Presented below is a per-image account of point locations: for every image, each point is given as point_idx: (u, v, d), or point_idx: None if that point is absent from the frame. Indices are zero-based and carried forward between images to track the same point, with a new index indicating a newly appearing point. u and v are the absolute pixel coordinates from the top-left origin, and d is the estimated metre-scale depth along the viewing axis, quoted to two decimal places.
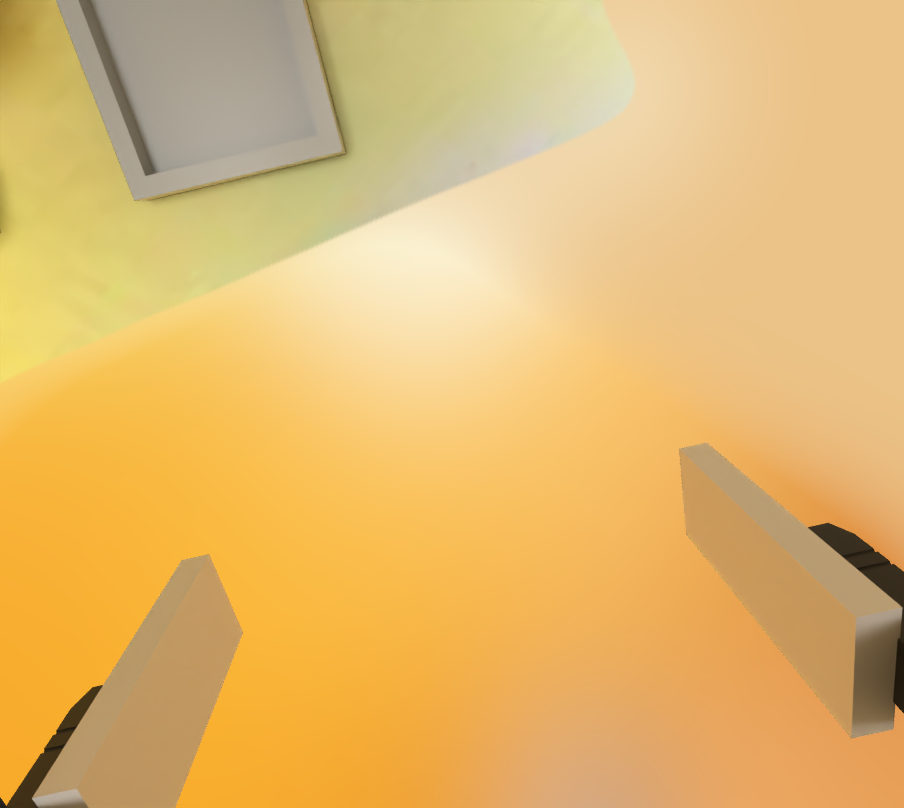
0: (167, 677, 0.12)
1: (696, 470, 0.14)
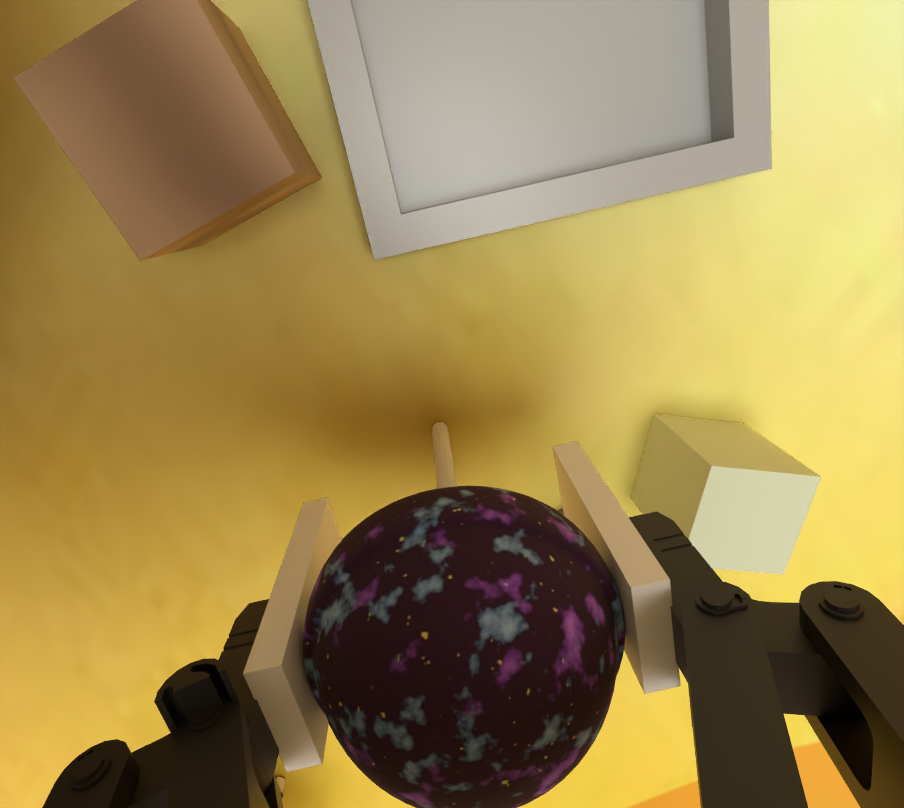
0: None
1: (561, 466, 0.16)
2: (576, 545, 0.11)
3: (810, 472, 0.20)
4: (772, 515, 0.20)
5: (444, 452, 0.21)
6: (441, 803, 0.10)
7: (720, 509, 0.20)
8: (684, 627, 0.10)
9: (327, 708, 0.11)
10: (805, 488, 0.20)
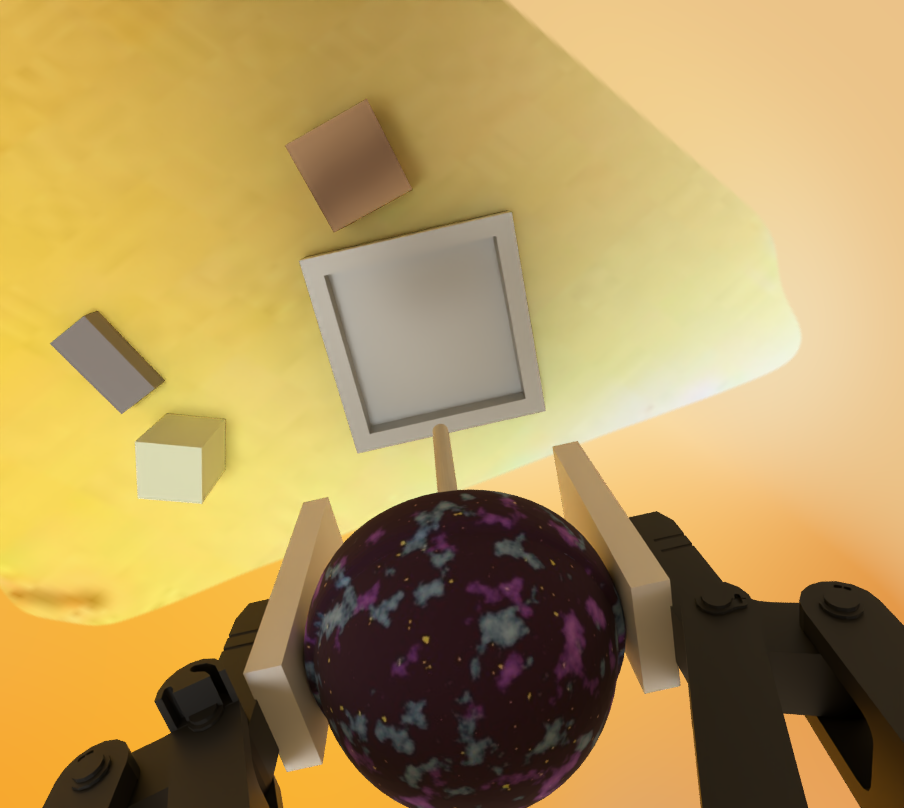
0: None
1: (561, 466, 0.16)
2: (577, 549, 0.11)
3: (203, 498, 0.38)
4: (175, 484, 0.37)
5: (445, 454, 0.21)
6: (442, 807, 0.10)
7: (175, 456, 0.36)
8: (684, 627, 0.10)
9: (328, 712, 0.11)
10: (194, 497, 0.37)
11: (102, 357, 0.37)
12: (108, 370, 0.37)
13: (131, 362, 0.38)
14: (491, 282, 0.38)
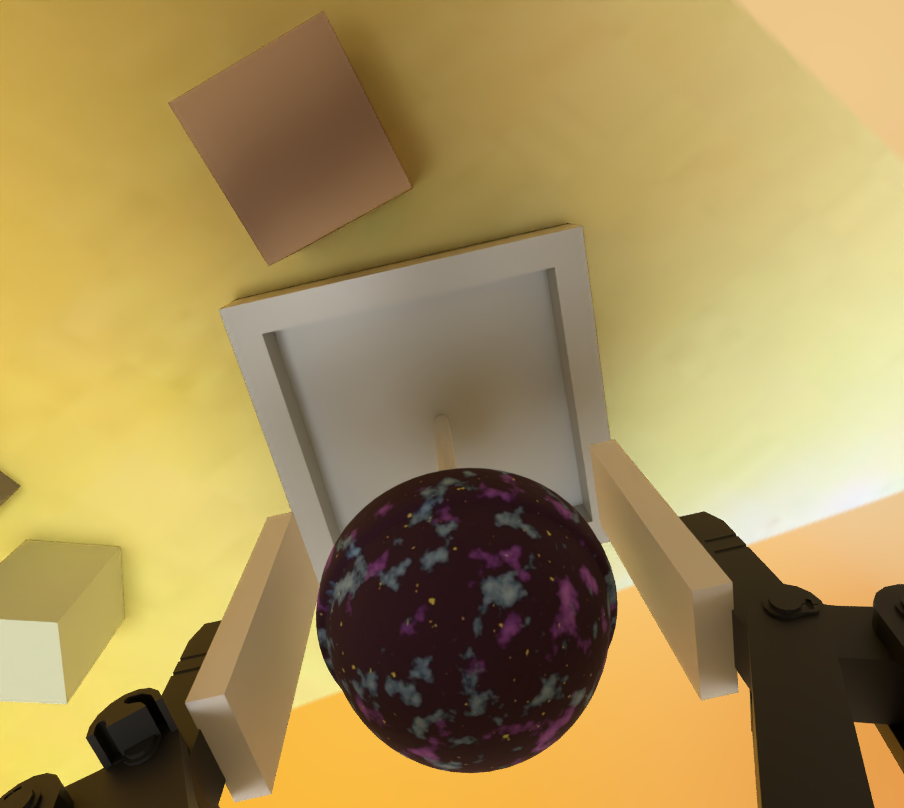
0: (273, 614, 0.14)
1: (600, 465, 0.16)
2: (571, 522, 0.12)
3: (69, 694, 0.23)
4: (18, 677, 0.22)
5: (445, 443, 0.22)
6: (447, 757, 0.11)
7: (14, 636, 0.22)
8: (749, 629, 0.10)
9: (340, 673, 0.12)
10: (52, 696, 0.23)
11: None
12: None
13: None
14: (541, 338, 0.23)
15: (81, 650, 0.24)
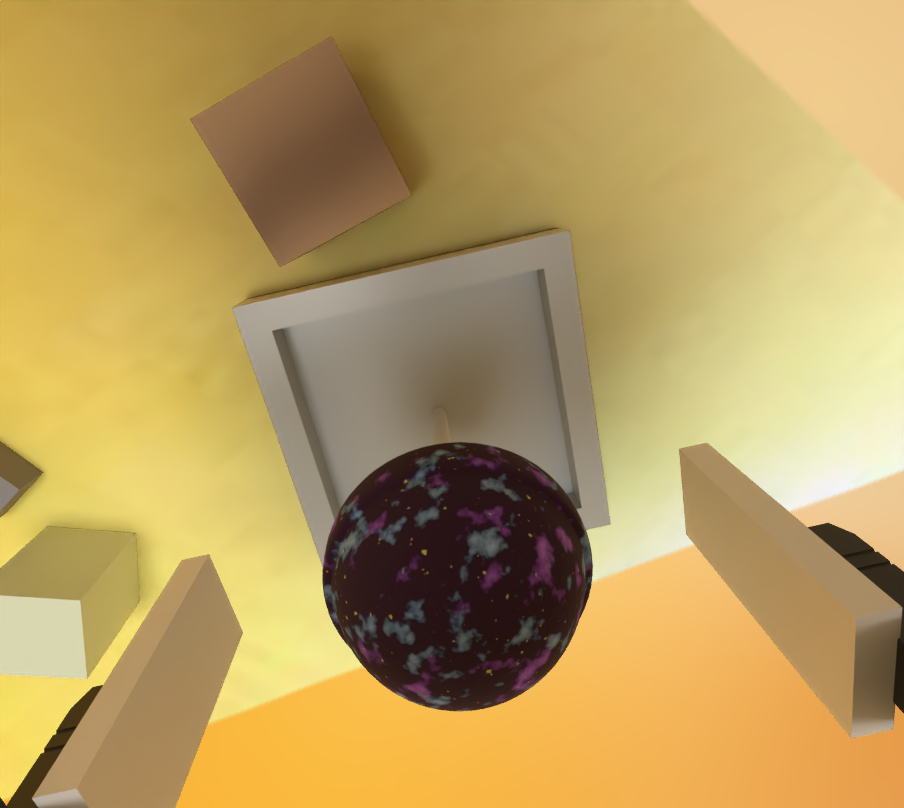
0: (167, 677, 0.12)
1: (696, 471, 0.14)
2: (549, 488, 0.14)
3: (90, 670, 0.25)
4: (42, 653, 0.24)
5: (442, 432, 0.23)
6: (437, 691, 0.12)
7: (39, 614, 0.23)
8: None
9: (344, 621, 0.13)
10: (74, 670, 0.24)
11: None
12: None
13: None
14: (532, 335, 0.25)
15: (100, 629, 0.25)
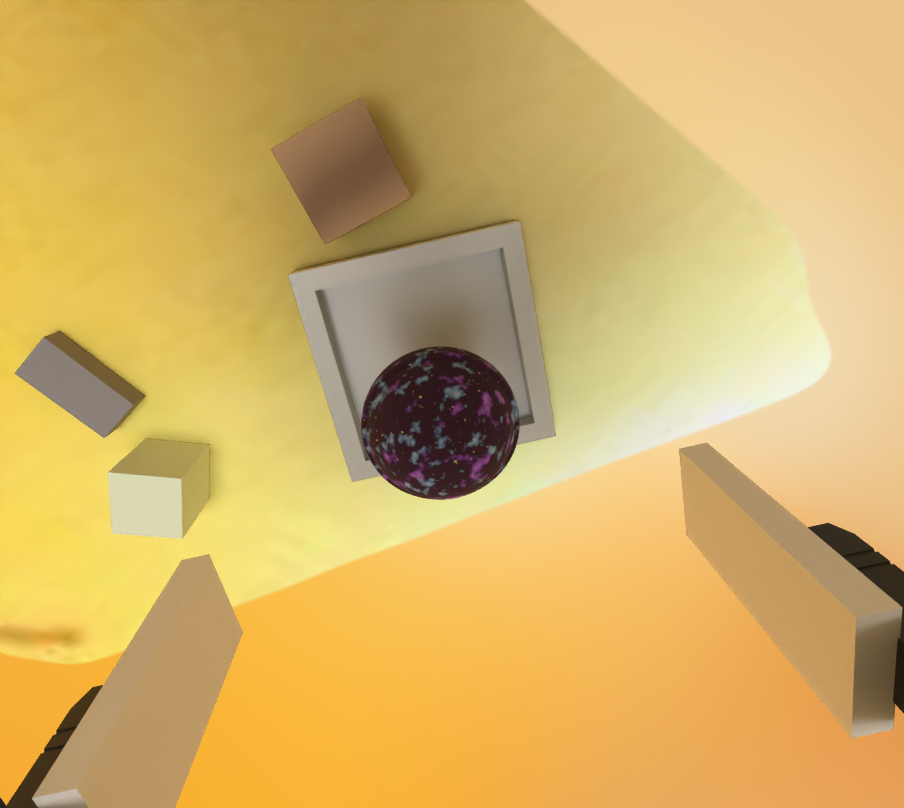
0: (167, 677, 0.12)
1: (696, 470, 0.14)
2: (492, 370, 0.24)
3: (184, 533, 0.35)
4: (152, 518, 0.34)
5: None
6: (427, 475, 0.22)
7: (152, 488, 0.33)
8: None
9: (375, 443, 0.23)
10: (173, 532, 0.34)
11: (72, 379, 0.34)
12: (81, 392, 0.34)
13: (103, 380, 0.34)
14: (498, 297, 0.35)
15: (189, 506, 0.35)
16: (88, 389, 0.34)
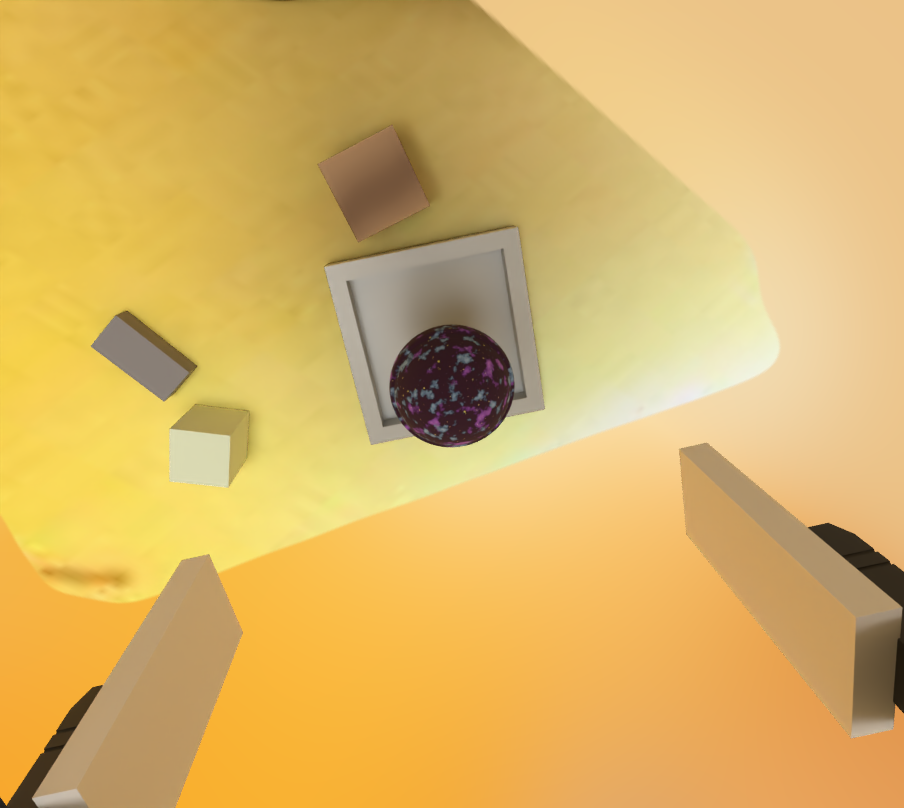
0: (167, 677, 0.12)
1: (696, 470, 0.14)
2: (494, 344, 0.30)
3: (229, 483, 0.41)
4: (204, 469, 0.40)
5: None
6: (442, 422, 0.29)
7: (206, 443, 0.40)
8: None
9: (401, 398, 0.30)
10: (221, 481, 0.41)
11: (138, 351, 0.41)
12: (145, 362, 0.41)
13: (164, 351, 0.41)
14: (498, 290, 0.42)
15: (234, 460, 0.42)
16: (152, 359, 0.41)
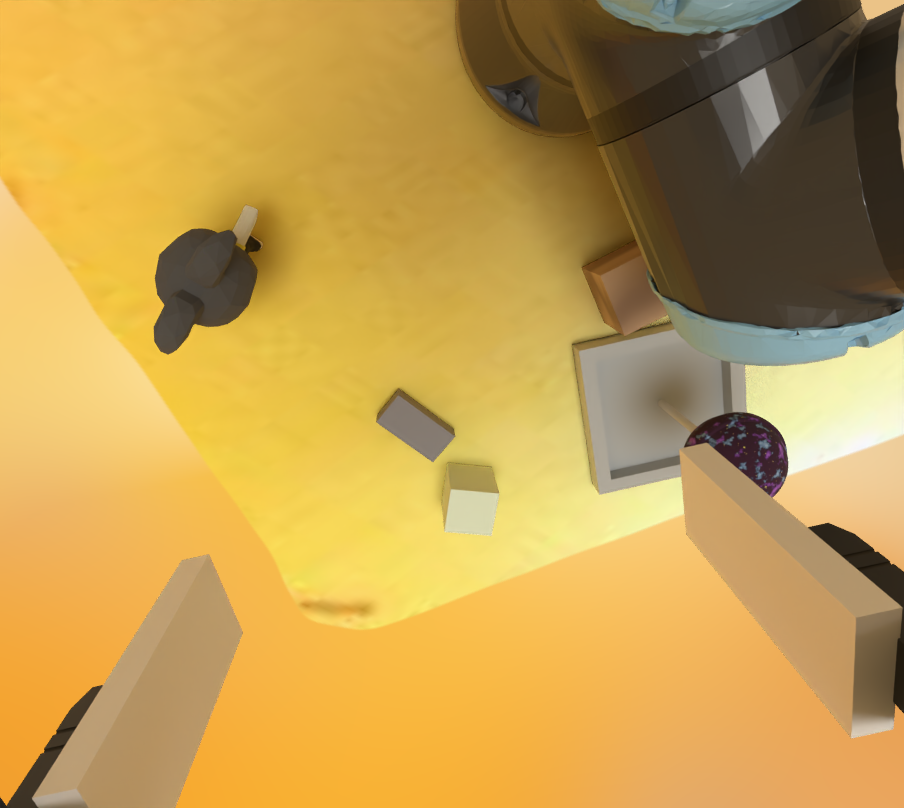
0: (167, 677, 0.12)
1: (696, 470, 0.14)
2: (775, 428, 0.38)
3: (491, 531, 0.49)
4: (474, 521, 0.48)
5: (677, 411, 0.47)
6: None
7: (478, 500, 0.47)
8: None
9: None
10: (486, 531, 0.48)
11: (414, 422, 0.48)
12: (420, 431, 0.48)
13: (435, 421, 0.48)
14: (713, 362, 0.49)
15: None
16: (425, 428, 0.48)
